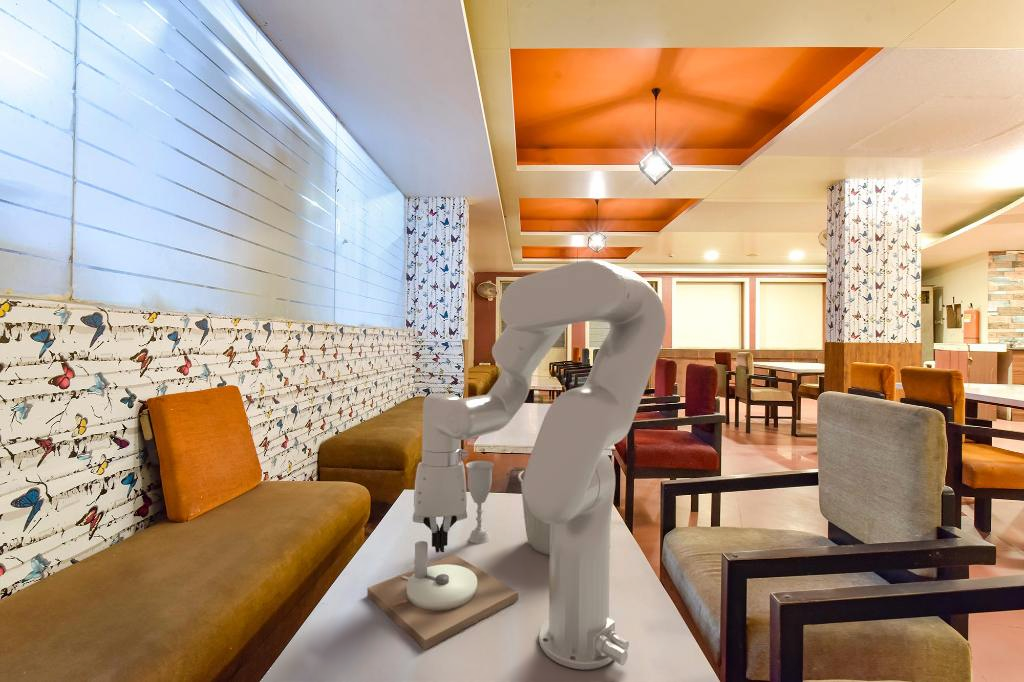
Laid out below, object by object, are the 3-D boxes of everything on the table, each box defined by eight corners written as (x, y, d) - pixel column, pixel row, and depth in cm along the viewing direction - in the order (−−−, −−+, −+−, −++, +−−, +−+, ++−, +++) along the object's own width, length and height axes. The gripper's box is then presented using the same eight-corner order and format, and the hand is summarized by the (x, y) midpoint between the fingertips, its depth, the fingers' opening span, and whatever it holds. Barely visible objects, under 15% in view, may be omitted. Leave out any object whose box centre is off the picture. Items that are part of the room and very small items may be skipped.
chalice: (488, 547, 106) (489, 469, 106) (460, 544, 107) (461, 467, 107) (496, 533, 113) (497, 461, 113) (470, 531, 114) (470, 459, 114)
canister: (506, 557, 101) (507, 462, 101) (529, 526, 118) (530, 445, 118) (587, 571, 95) (589, 471, 95) (599, 536, 112) (600, 451, 112)
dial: (489, 582, 88) (490, 543, 88) (451, 618, 76) (451, 573, 76) (434, 566, 93) (435, 529, 93) (391, 597, 82) (391, 556, 82)
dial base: (517, 600, 84) (517, 591, 84) (425, 649, 71) (425, 638, 71) (454, 561, 99) (454, 553, 99) (367, 595, 85) (367, 586, 85)
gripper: (476, 451, 95) (474, 538, 95) (402, 453, 92) (400, 544, 92) (481, 460, 88) (479, 555, 88) (402, 463, 84) (400, 562, 84)
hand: (439, 549), depth 90 cm, fingers closed
